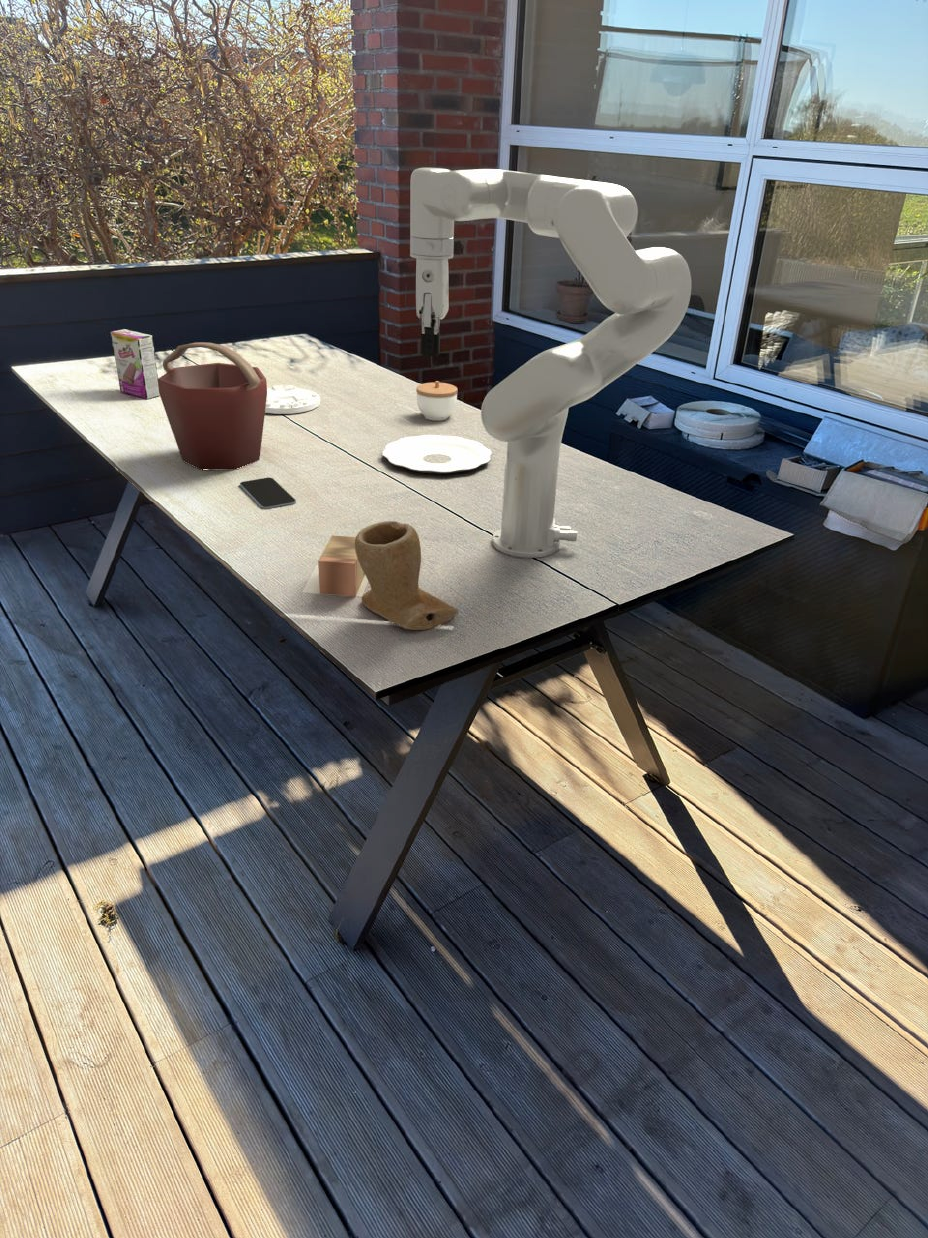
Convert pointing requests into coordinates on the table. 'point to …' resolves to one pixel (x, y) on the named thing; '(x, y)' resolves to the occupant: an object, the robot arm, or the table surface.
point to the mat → (314, 587)
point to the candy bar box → (135, 363)
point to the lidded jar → (436, 400)
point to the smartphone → (267, 493)
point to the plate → (457, 448)
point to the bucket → (215, 409)
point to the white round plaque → (290, 400)
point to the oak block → (340, 567)
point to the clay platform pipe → (397, 577)
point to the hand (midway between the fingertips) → (430, 355)
